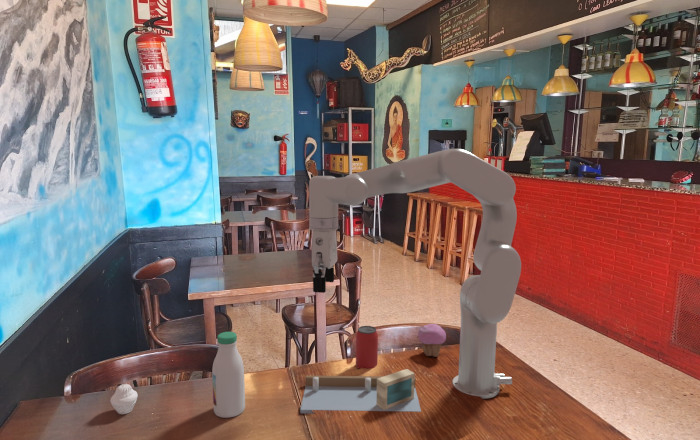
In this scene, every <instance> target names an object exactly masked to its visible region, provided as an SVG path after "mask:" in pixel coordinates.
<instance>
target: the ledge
mask: <svg viewBox="0 0 700 440" xmlns="http://www.w3.org/2000/svg"><path fill="white" fill-rule="evenodd" d="M384 376H385V375H384ZM384 376H378V375H377V376H376V375H375V376H373V375H372V376H371V375H368V376H367V375H305V387H304V392H303V397H302V402H301V405H300V409H299V410H300V414H306V415H307V414H310V415H311V414H314V415H315V414H316V412H314V411H343V412H344V411H347V412H348V411H350V412H352V411H353V412H360V411H361V412H416V413H418V412H420V413H421V412H422V410H421V405H420V401H419V397H418V393H417V390H416V378H415V379H414V399H411V400H408V401H406V402H403V403H401V404H398V405H396V406H393V407H390V408H388V409H385V410H383V409H382V408H380V407H379V406H378V405H376V402H377V379H378V378H381V377H384Z"/></svg>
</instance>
